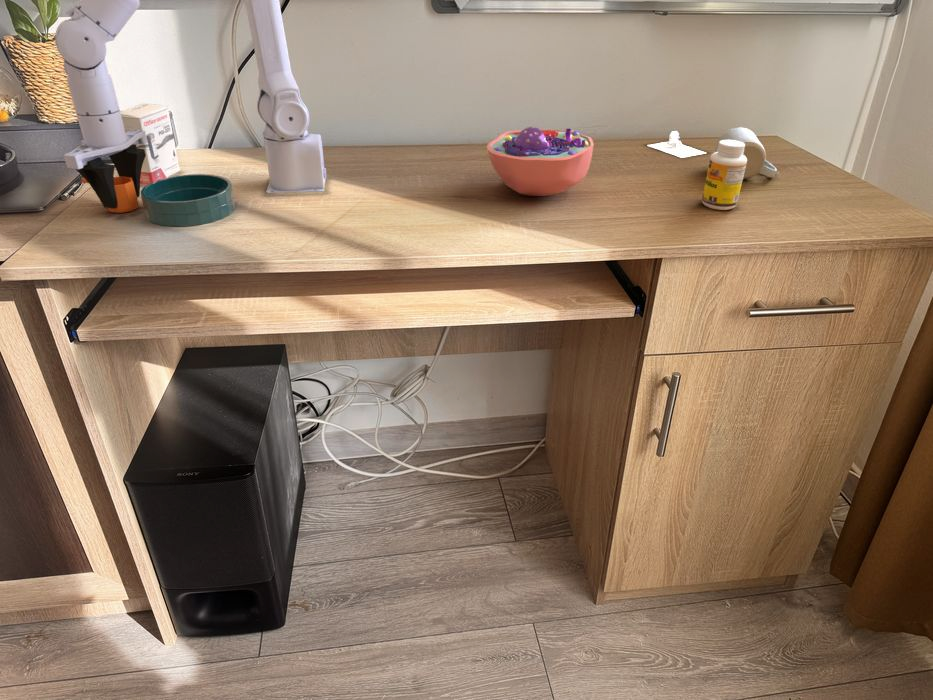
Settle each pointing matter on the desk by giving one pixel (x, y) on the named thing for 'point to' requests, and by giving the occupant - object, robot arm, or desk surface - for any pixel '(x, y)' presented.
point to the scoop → (123, 194)
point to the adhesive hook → (676, 147)
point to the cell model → (541, 160)
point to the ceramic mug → (750, 152)
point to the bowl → (188, 200)
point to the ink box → (153, 140)
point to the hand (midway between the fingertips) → (122, 201)
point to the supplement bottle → (725, 175)
